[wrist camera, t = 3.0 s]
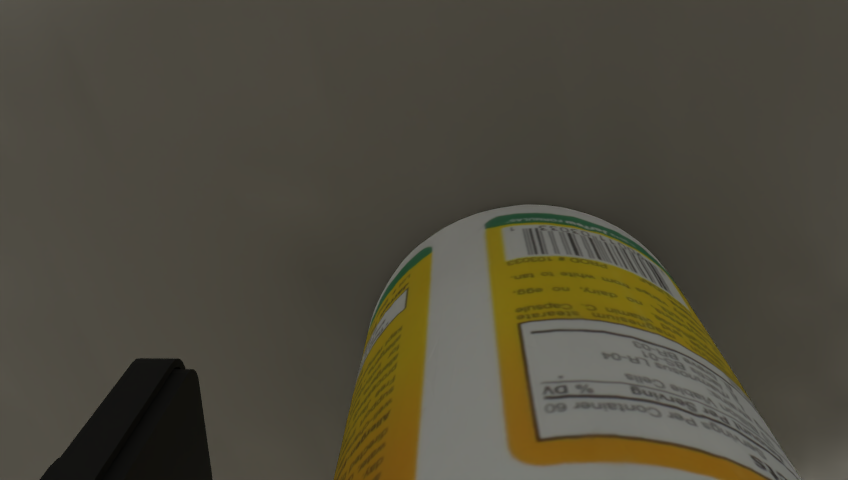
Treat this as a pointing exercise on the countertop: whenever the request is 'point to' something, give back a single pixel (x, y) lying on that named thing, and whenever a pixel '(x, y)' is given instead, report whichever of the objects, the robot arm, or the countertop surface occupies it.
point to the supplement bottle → (546, 364)
